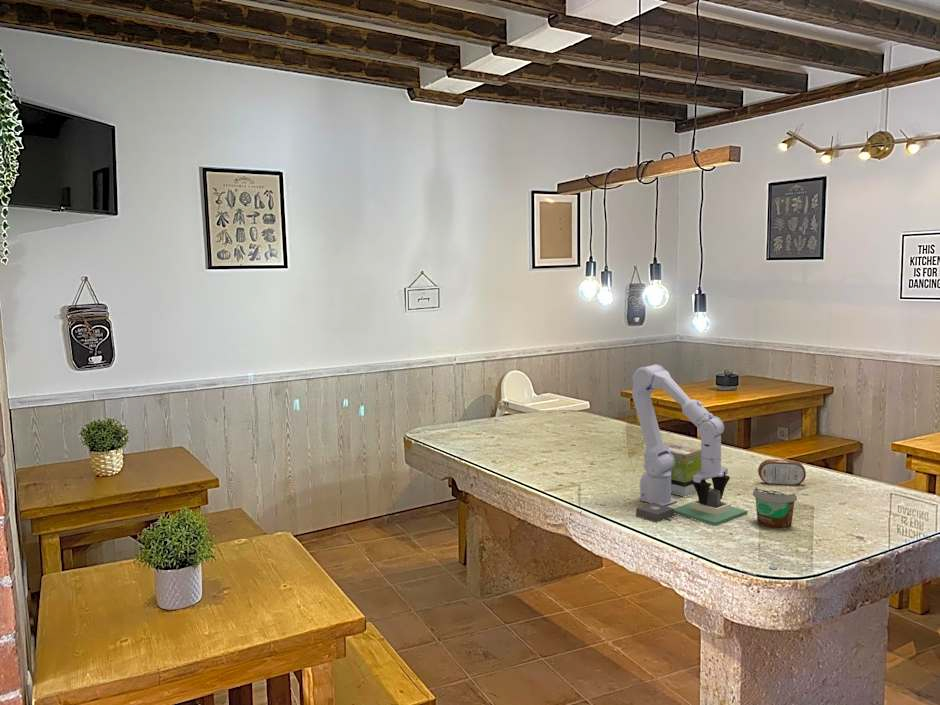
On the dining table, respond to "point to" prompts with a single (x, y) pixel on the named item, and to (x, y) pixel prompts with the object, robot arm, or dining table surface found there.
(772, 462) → the tin
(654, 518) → the grey flat block
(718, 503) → the plug
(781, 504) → the food container
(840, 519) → the dining table surface
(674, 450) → the tea box
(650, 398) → the robot arm
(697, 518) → the board
